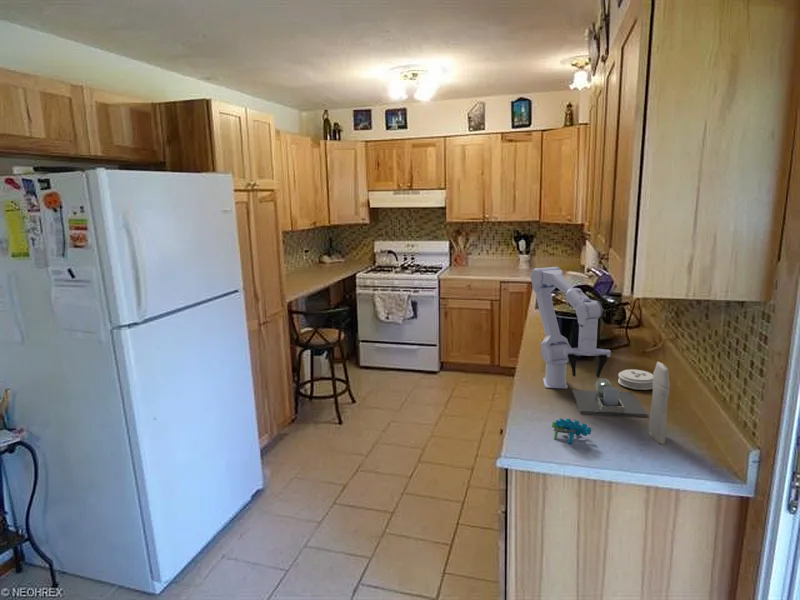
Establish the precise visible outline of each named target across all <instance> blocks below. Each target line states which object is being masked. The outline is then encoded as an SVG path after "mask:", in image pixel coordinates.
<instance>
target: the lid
mask: <svg viewBox="0 0 800 600" xmlns="http://www.w3.org/2000/svg"><path fill="white" fill-rule="evenodd" d="M653 374H654V373H651V372H650V371H646V370H640V369H623V370H622V371H620V372H618V374H617V376H618V380H617V383H618V384H619V385H621V386H622V387H625V388H629V389H632V390H642V391H643V390H644V391H647V390H653Z"/></svg>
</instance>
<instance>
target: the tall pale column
mask: <svg viewBox="0 0 800 600" xmlns="http://www.w3.org/2000/svg"><path fill="white" fill-rule="evenodd" d="M652 374H653V389H652V397H651V398H652V399H651V405H650V415H649V423H648V424H649V425H648V436H649V438H652V439H654V441H656V442H657V444H660V445H665V443H666V433H667V420H668V418H667V415H668V414H667V411H668V401H669V395H670V390H671V389H670V387H671V380H670V373H669V368H668V366H667V365H666V364H664V363H663V362H660V361H657V362H656V364H655V368H654V371H653V373H652Z"/></svg>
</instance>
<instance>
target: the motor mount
mask: <svg viewBox="0 0 800 600" xmlns="http://www.w3.org/2000/svg"><path fill="white" fill-rule="evenodd" d="M594 386H595V388H596V389H595V390H589V389H588V390H585V389H572V395H573V398H574V400H575V403H576V406H577V408H578V411H579V413H580V414H582V415H595V416H599V415H601V416H614V417H615V416H616V417H617V416H618V417H619V416H620V417H634V418H635V417H637V418H639V417H641V418H648V412H647V411H646V410H645V409H644V407H643V406H642V403H641V402H640V401H639V400H638V399H637V397H636V395H635V394H634V392H632V391H629V392H628V391H619V400H618V406H603V398H604V388H605V387H613V386H612V383H611V382H610V380H609V379H608V378H604V377H601V378H600V377H599V378H598V379H596V382H595V384H594Z"/></svg>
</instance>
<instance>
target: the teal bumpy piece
mask: <svg viewBox="0 0 800 600" xmlns="http://www.w3.org/2000/svg"><path fill="white" fill-rule="evenodd" d="M551 427H552V428H553V431H554V436H553V439H554V440H557V438H558V433H562V434H568V435H569V438H568V442H567V443H568V445H572V444H573V439H574V435H576V436H581V435H582V436H584V437H586V436H588V435H591V433H592V427H590V426H588V424H586V423H584V422H583V423H582V424H580V421H579V420H576V419H575V420H574V421H572V420H571V418H566V419H563V418H559V420H558V419H556V420H555V421H552V422H551Z"/></svg>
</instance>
